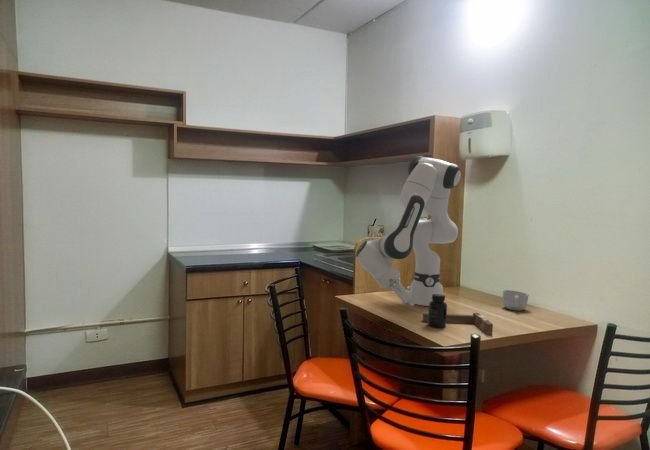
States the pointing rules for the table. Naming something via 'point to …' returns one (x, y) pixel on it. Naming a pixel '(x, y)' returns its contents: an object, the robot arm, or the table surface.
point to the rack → (468, 321)
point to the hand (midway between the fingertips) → (412, 304)
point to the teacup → (514, 300)
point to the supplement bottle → (437, 311)
